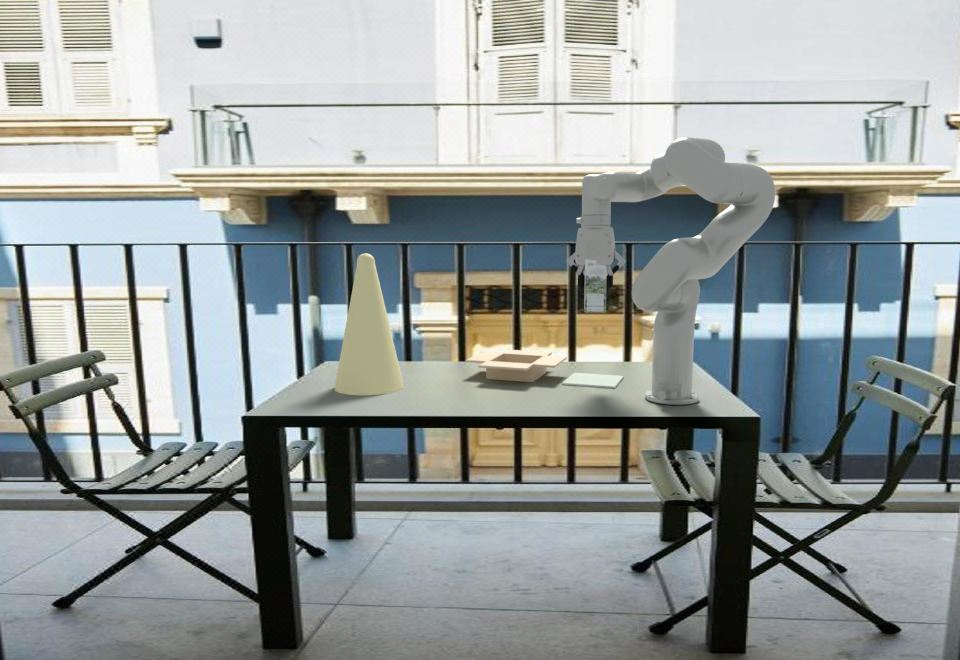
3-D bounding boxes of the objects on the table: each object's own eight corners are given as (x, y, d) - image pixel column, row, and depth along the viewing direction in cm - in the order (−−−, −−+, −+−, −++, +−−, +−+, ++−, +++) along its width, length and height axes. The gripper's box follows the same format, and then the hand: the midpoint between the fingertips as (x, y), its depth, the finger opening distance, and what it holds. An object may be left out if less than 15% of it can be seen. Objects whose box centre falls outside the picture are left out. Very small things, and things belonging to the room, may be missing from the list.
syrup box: (605, 310, 192) (606, 257, 190) (606, 313, 186) (606, 258, 184) (584, 310, 193) (584, 257, 190) (584, 313, 187) (584, 258, 185)
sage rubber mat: (614, 388, 183) (614, 386, 183) (562, 384, 188) (562, 382, 188) (623, 377, 196) (623, 375, 196) (574, 374, 201) (574, 372, 201)
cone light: (404, 393, 179) (401, 256, 174) (331, 396, 177) (326, 257, 171) (402, 374, 203) (399, 252, 198) (338, 376, 201) (333, 253, 196)
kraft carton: (548, 388, 183) (548, 369, 183) (458, 381, 192) (457, 363, 192) (571, 369, 207) (571, 353, 206) (489, 364, 216) (489, 348, 215)
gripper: (560, 222, 185) (560, 290, 188) (626, 221, 179) (625, 291, 182) (567, 222, 192) (566, 288, 195) (631, 222, 186) (630, 289, 189)
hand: (595, 289), depth 188 cm, fingers closed on syrup box, 6 cm apart
